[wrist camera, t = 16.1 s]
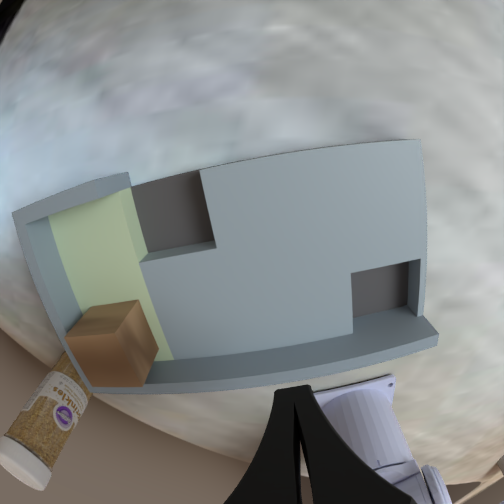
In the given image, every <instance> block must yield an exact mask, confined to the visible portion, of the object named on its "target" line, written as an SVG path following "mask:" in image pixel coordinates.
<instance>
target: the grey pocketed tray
mask: <svg viewBox="0 0 504 504" xmlns="http://www.w3.org/2000/svg"><path fill="white" fill-rule="evenodd" d="M12 216H13V219H14V223H15V227H16V230H17V234H18V237H19V240H20V244H21V247H22V250H23V253H24V256H25V259H26V262H27V265H28V267H29V270H30V273H31V276H32V278H33V281H34V283H35V286H36V288H37V291H38V293H39V296H40V298H41V301H42V303H43V305H44V307H45V310H46V312H47V314H48V316H49V319H50V321H51V323H52V325H53V327H54V329H55V331H56V333H57V335H58V337H59V339H60V341H61V343H62V345H63V347H64V349H65V351H66V353H67V354H68V356H69V358H70V360H71V362H72V363H73V365H74V367H75V369H76V370H77V372H78V374H79V375H80V377H81V379H82V380H83V382H84V384H85V385H86V387H87V389H88V390H89V392H90V393H108V394H179V393H198V392H213V391H224V390H235V389H244V388H253V387H261V386H268V385H275V384H282V383H288V382H294V381H300V380H306V379H311V378H316V377H322V376H327V375H331V374H336V373H341V372H345V371H350V370H354V369H358V368H362V367H366V366H370V365H374V364H378V363H382V362H385V361H389V360H392V359H396V358H399V357H403V356H406V355H409V354H413V353H416V352H419V351H422V350H425V349H428V348H431V347H434V346H437V342H438V337H439V333H438V332H437V331H436V330H435V328H434V327H433V326H432V325H431V324H430V323H429V321H428V320H427V319H426V318H425V317H424V316H423V311H424V300H425V287H426V268H427V207H426V188H425V175H424V165H423V155H422V147H421V139H404V140H390V141H378V142H367V143H357V144H347V145H338V146H330V147H322V148H315V149H308V150H301V151H294V152H288V153H282V154H276V155H270V156H264V157H258V158H253V159H248V160H242V161H237V162H232V163H227V164H223V165H218V166H213V167H209V168H204V169H200V170H195V171H191V172H187V173H183V174H179V175H174V176H170V177H166V178H163V179H159V180H155V181H151V182H147V183H144V184H140V185H137V186H133V187H132V186H131V182H130V178H129V173H128V172H126V173H122V174H117V175H113V176H108V177H104V178H100V179H96V180H92V181H90V182H87V183H84V184H81V185H78V186H76V187H73V188H70V189H68V190H65V191H62V192H60V193H57V194H55V195H52V196H50V197H47V198H45V199H42V200H40V201H38V202H35V203H33V204H31V205H28V206H26V207H24V208H21V209H19V210H17V211H15V212H12ZM137 299H139V302H140V304H141V307H142V309H143V312H144V314H145V317H146V319H147V322H148V324H149V326H150V329H151V331H152V334H153V336H154V338H155V341H156V343H157V345H158V347H159V350H158V352H157V355H156V357H155V359H154V362H153V364H152V366H151V369H150V371H149V373H148V376H147V378H146V380H145V383H144V385H143V387H92V386H91V384H90V382H89V381H88V379H87V378H86V376H85V374H84V373H83V371H82V369H81V368H80V366H79V364H78V362H77V361H76V359H75V357H74V355H73V354H72V352H71V350H70V348H69V346H68V344H67V342H66V341H65V339H64V337H65V336H66V334H67V333H68V332H69V331H70V330H71V329H72V328H73V326H74V325H75V324H76V323H77V322H78V321H79V320H80V319H81V317H82V316H83V315H84V314H85V313H86V312H87V311H88V310H89V309H90V308H91V307H92V306H98V305H105V304H112V303H118V302H125V301H131V300H137Z"/></svg>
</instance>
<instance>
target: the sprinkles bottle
mask: <svg viewBox="0 0 504 504" xmlns="http://www.w3.org/2000/svg"><path fill="white" fill-rule="evenodd" d="M92 394H93V393H90V392H89V390H88V389H87V387H86V385H85V384H84V382H83V380H82V379H81V377H80V375H79V374H78V372H77V370H76V369H75V367H74V365H73V363H72V362H71V360H70V358H69V356H68V354H67V353H66V351H65V352H64V353H63V354H62V356H61V358H60V360H59V361H58V363H57V364H56V365H55V366H54V368H53V369H52V370H51V371H50V372H49V373H48V374H47V376H46V377H45V378H44V380H43V381H42V382H41V384H40V385H39V386H38V388H37V389H36V390H35V392H34V393H33V395H32V396H31V397H30V399H29V400H28V401H27V403H26V404H25V406H24V407H23V409H22V410H21V412H20V414H19V415H18V417H17V419H16V420H15V421H14V422H13V424H12V426H11V427H10V428H9V430H8V432H7V433H5V434H4V436H1V437H0V464H1V465H2V466H3V467H4V468H5V469H6V470H7V471H8V472H9V473H11V474H12V475H13V476H14V477H16V478H17V479H19V480H20V481H22V482H23V483H24V484H26V485H28V486H30V487H32V488H34V489H36V490H40V491H42V490H44V489H45V487H46V485H47V484H48V481H49V480H50V478H51V472H52V467H53V465H54V463H55V462H56V460H57V458H58V456H59V454H60V452H61V450H62V449H63V446H64V445H65V443H66V441H67V439H68V437H69V435H70V434H71V431H72V430H73V429H74V428H75V426H76V424H77V423H78V421H79V419H80V417H81V415H82V414H83V412H84V410H85V408H86V406H87V404H88V401H89V399H90V398H91V396H92Z"/></svg>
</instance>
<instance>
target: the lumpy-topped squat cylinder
mask: <svg viewBox="0 0 504 504" xmlns="http://www.w3.org/2000/svg"><path fill="white" fill-rule="evenodd" d="M497 464H498V466H499V467H500V469H501V471H502V473H503V475H504V455H503V456H502V457H501V458H500V459H499V461H498V462H497Z"/></svg>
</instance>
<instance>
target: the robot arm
mask: <svg viewBox="0 0 504 504" xmlns="http://www.w3.org/2000/svg"><path fill="white" fill-rule="evenodd" d="M395 383H396V377H395V376H394V375H388V376H385V377H381V378H377V379H374V380H370V381H366V382H362V383H358V384H354V385H350V386H345V387H341V388H336V389H331V390H327V391H322V392H316V393H313V391H312V389H311V386H310V385H302V386H296V387H290V388H284V389H277V390H276V391H275V392H274V400H273V406H272V410H271V414H270V418H269V421H268V424H267V427H266V430H265V433H264V436H263V438H262V441H261V443H260V445H259V448H258V450H257V452H256V454H255V456H254V458H253V460H252V462H251V464H250V466H249V468H248V470H247V471H246V473H245V474H244V476H243V478H242V479H241V481H240V482H239V484H238V486H237V487H236V488H235V490H234V491H233V492H232V494H231V495H230V496H229V497H228V499H227V500H226V501H225V502H224V504H302V497H301V481H300V480H301V479H300V441H301V445H302V450H303V454H304V458H305V462H306V466H307V470H308V474H309V478H310V483H311V488H312V494H313V503H314V504H452V502H451V499H450V496H449V494H448V491H447V489H446V486H445V484H444V481H443V479H442V477H441V475H440V473H439V471H438V469H437V468H436V467H433V466H429V465H425V466H423V467H421V470H422V473H423V476H424V480H425V482H424V480H423V477H422V475H421V472H420V470H419V467H418V465H417V462H416V460H415V459H413V456H412V454H411V451H410V449H409V446H408V444H407V442H406V439H405V437H404V435H403V432H402V430H401V427H400V425H399V423H398V420H397V418H396V416H395V414H394V411H393V409H392V407H391V406H392V401H393V395H394V389H395ZM425 483H426V485H425ZM426 486H427V487H426ZM427 489H428V490H427ZM499 504H504V501H502V502H501V503H499Z"/></svg>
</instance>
